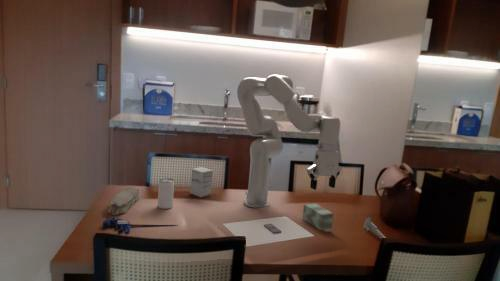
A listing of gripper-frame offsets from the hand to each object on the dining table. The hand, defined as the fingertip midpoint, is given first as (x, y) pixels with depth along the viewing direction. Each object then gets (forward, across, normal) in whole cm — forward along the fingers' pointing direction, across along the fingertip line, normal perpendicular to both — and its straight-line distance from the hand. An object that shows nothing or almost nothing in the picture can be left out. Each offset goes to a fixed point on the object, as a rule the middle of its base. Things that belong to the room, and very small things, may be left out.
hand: (322, 187), depth 155 cm
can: (+16, -54, +38) cm, 68 cm away
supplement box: (+16, -33, +50) cm, 62 cm away
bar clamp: (+17, -66, +19) cm, 71 cm away
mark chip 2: (+16, -22, -1) cm, 27 cm away
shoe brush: (+16, -70, +44) cm, 84 cm away
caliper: (+18, +18, -17) cm, 31 cm away
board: (+17, -24, +1) cm, 30 cm away
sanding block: (+17, 0, +1) cm, 17 cm away
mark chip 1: (+16, -22, +3) cm, 27 cm away
